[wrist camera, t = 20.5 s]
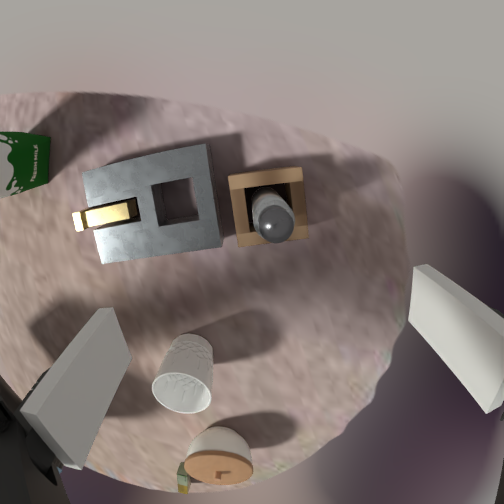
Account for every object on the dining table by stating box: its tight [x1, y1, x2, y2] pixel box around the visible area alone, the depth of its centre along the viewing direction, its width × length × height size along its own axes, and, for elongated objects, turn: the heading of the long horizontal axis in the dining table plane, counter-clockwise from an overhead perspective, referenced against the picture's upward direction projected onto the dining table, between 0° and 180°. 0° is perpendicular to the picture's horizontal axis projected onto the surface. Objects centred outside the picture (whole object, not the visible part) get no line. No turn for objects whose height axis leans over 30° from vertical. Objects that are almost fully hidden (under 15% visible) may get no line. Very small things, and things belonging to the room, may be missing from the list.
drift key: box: [73, 199, 138, 231], centre depth 35 cm, size 8×2×4 cm, turn 98°
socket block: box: [82, 144, 224, 264], centre depth 35 cm, size 16×12×4 cm
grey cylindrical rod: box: [251, 187, 295, 243], centre depth 30 cm, size 4×4×14 cm
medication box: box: [177, 462, 191, 494], centre depth 54 cm, size 12×3×4 cm, turn 172°
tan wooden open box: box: [228, 166, 309, 247], centre depth 34 cm, size 8×8×5 cm
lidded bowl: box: [184, 426, 253, 485], centre depth 45 cm, size 13×13×11 cm
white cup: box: [152, 333, 213, 414], centre depth 39 cm, size 8×8×10 cm
